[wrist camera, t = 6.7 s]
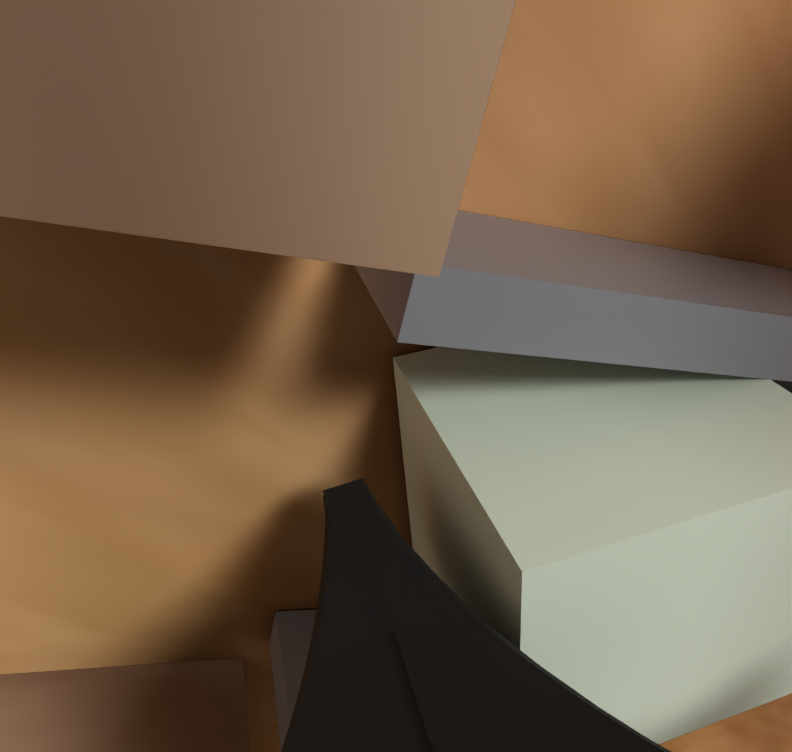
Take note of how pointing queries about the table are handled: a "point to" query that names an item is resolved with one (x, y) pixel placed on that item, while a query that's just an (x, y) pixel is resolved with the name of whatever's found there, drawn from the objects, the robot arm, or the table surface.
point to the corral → (571, 327)
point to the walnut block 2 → (249, 121)
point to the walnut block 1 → (127, 709)
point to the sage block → (611, 523)
